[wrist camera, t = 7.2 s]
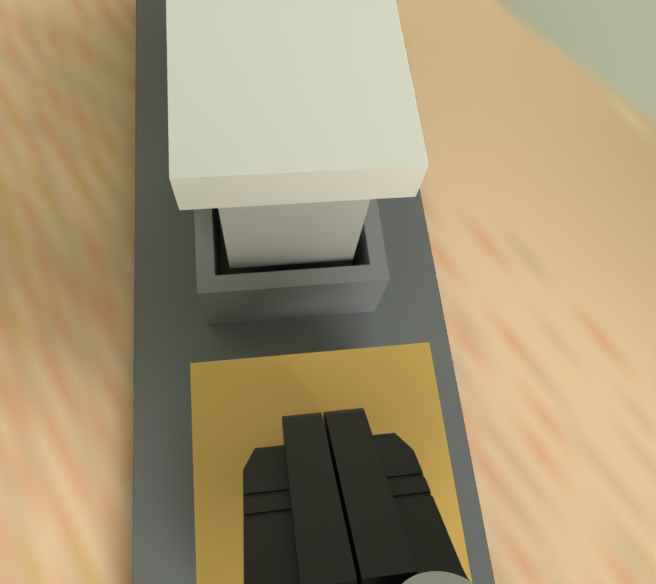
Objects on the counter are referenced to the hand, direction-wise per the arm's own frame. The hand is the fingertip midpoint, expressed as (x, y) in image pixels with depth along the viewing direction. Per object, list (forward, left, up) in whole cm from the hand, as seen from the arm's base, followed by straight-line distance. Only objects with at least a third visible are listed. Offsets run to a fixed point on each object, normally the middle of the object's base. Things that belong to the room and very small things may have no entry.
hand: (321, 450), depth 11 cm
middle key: (-2, -7, -4) cm, 9 cm away
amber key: (0, 0, -7) cm, 7 cm away
